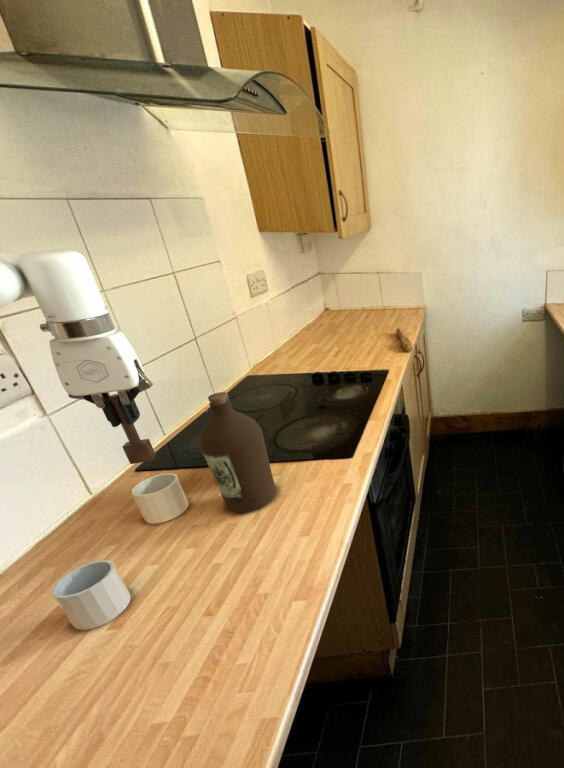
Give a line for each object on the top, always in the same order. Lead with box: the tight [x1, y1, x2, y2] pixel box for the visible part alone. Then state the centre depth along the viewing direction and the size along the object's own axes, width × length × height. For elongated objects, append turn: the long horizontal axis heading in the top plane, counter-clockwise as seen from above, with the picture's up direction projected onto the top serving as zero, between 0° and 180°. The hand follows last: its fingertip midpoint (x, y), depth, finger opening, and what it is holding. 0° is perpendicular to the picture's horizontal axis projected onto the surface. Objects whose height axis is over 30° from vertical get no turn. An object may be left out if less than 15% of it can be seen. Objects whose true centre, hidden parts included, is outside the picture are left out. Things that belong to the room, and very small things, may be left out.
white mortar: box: [51, 559, 132, 631], centre depth 64 cm, size 7×7×7 cm
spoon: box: [109, 393, 157, 465], centre depth 78 cm, size 4×2×14 cm, turn 110°
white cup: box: [131, 472, 189, 525], centre depth 85 cm, size 7×7×7 cm
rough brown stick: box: [395, 327, 413, 353], centre depth 188 cm, size 3×3×30 cm
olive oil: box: [199, 391, 277, 514], centre depth 85 cm, size 11×11×25 cm
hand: (126, 421), depth 78 cm, fingers closed on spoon, 1 cm apart
